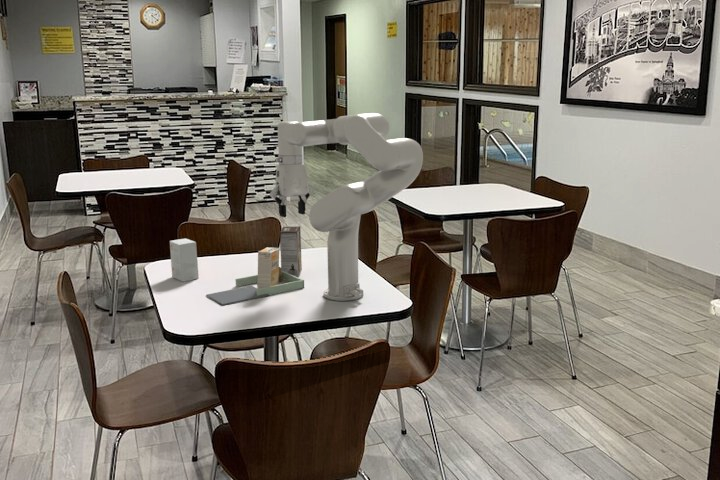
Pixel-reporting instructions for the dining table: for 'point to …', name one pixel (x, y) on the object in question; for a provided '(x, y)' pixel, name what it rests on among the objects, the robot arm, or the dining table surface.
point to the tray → (294, 284)
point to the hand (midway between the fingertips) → (292, 214)
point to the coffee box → (291, 250)
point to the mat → (235, 295)
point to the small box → (184, 259)
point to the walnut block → (280, 275)
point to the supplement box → (268, 267)
